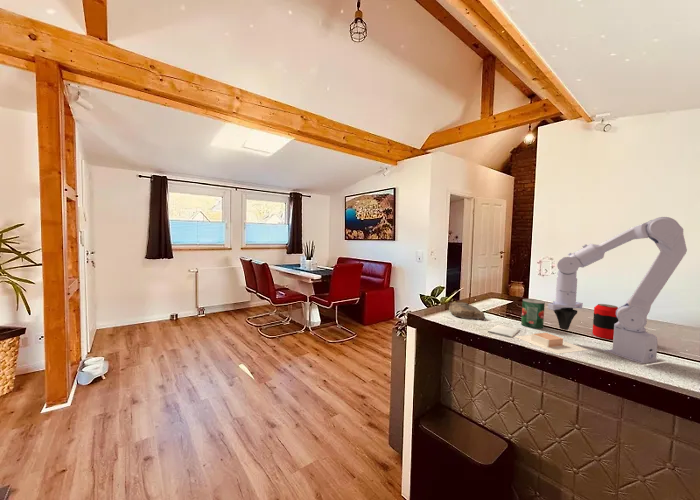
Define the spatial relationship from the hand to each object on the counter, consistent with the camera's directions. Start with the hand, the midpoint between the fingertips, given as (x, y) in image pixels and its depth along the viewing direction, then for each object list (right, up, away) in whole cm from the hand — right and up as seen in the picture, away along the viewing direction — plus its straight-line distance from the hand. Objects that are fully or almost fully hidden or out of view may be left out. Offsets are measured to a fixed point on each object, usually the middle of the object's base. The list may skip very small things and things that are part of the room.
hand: (563, 329), depth 102 cm
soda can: (+22, -5, +9) cm, 25 cm away
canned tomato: (0, -4, +18) cm, 19 cm away
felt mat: (-6, -5, -2) cm, 8 cm away
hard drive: (-16, -5, +10) cm, 19 cm away
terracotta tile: (-4, -3, -1) cm, 5 cm away
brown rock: (-21, -3, +37) cm, 43 cm away
